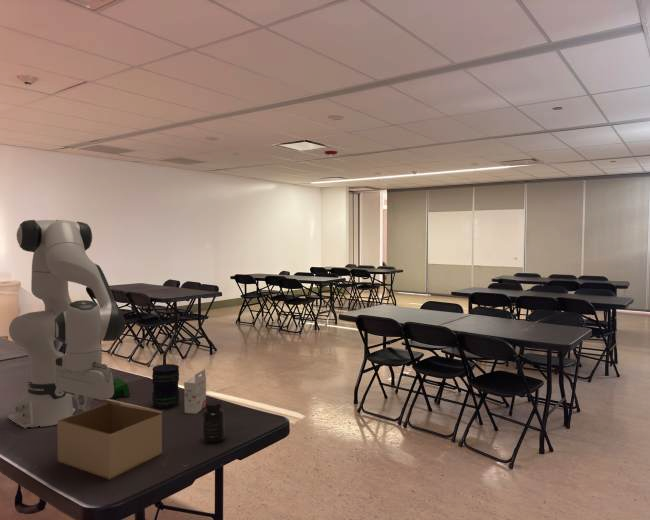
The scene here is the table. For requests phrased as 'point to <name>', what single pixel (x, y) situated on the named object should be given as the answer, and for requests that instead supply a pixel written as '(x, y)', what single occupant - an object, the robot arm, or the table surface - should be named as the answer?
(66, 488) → the table surface
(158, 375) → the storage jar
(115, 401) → the flap
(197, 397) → the ink cartridge box
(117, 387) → the green bumpy lump
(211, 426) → the supplement bottle
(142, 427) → the carton
